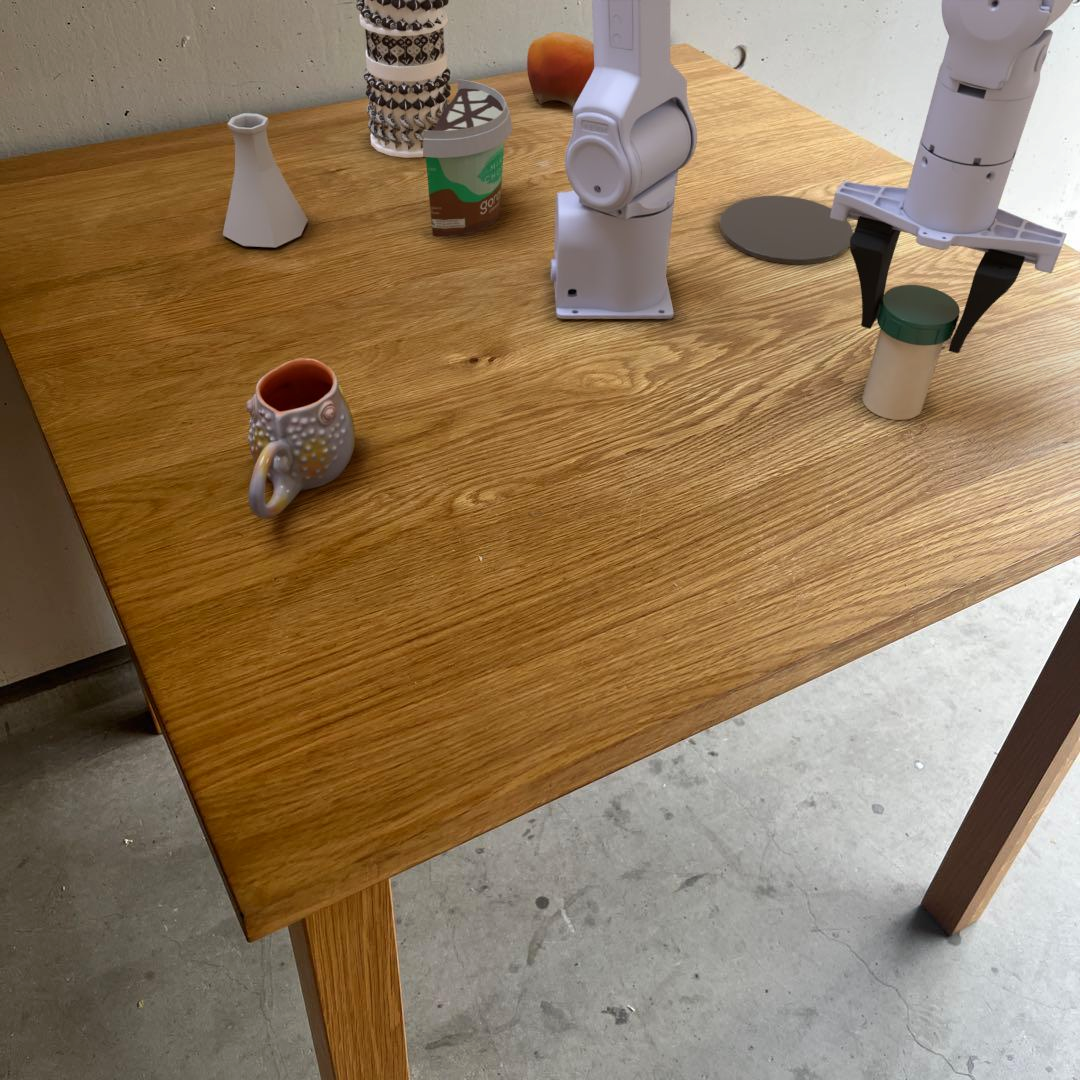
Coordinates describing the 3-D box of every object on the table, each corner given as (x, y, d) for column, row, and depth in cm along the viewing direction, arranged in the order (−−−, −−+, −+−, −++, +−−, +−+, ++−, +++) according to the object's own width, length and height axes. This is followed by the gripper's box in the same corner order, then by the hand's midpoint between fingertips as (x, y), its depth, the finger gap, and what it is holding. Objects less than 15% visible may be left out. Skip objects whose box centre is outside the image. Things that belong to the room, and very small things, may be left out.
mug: (280, 423, 79) (266, 345, 74) (372, 438, 78) (363, 359, 73) (206, 536, 70) (185, 454, 65) (307, 554, 69) (293, 473, 64)
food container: (495, 251, 97) (494, 140, 90) (428, 243, 98) (421, 132, 91) (524, 188, 106) (525, 83, 99) (462, 181, 106) (459, 76, 100)
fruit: (516, 102, 117) (524, 21, 115) (527, 115, 124) (534, 39, 123) (592, 109, 116) (601, 27, 114) (598, 121, 123) (606, 44, 122)
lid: (887, 345, 75) (893, 325, 74) (868, 304, 79) (874, 284, 78) (963, 345, 75) (970, 325, 74) (940, 304, 79) (947, 284, 78)
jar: (870, 420, 80) (896, 327, 75) (855, 384, 83) (879, 293, 78) (929, 420, 80) (960, 327, 75) (913, 384, 83) (941, 293, 78)
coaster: (730, 264, 96) (730, 259, 96) (710, 200, 105) (711, 195, 104) (866, 264, 96) (867, 259, 96) (835, 200, 105) (836, 195, 105)
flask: (208, 240, 97) (185, 129, 90) (253, 205, 102) (235, 97, 95) (279, 257, 95) (261, 145, 89) (321, 220, 100) (307, 111, 93)
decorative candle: (428, 166, 109) (413, -122, 91) (349, 148, 111) (319, -136, 94) (472, 132, 115) (465, -145, 97) (395, 115, 117) (375, -157, 100)
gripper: (834, 144, 68) (795, 331, 77) (1079, 199, 63) (1006, 392, 73) (867, 104, 73) (826, 286, 82) (1097, 153, 68) (1026, 340, 77)
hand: (912, 333), depth 78 cm, fingers open, 5 cm apart
